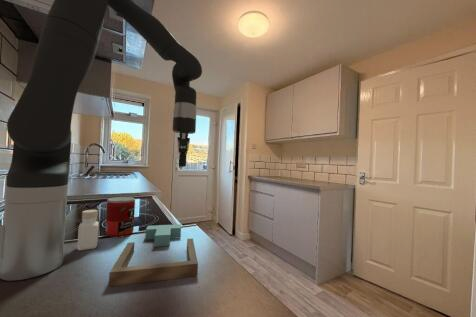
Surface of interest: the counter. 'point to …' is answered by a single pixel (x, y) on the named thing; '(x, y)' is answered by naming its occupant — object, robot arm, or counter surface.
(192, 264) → the tray
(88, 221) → the salt shaker
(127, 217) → the canned food
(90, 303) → the counter surface
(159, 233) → the teal T block
